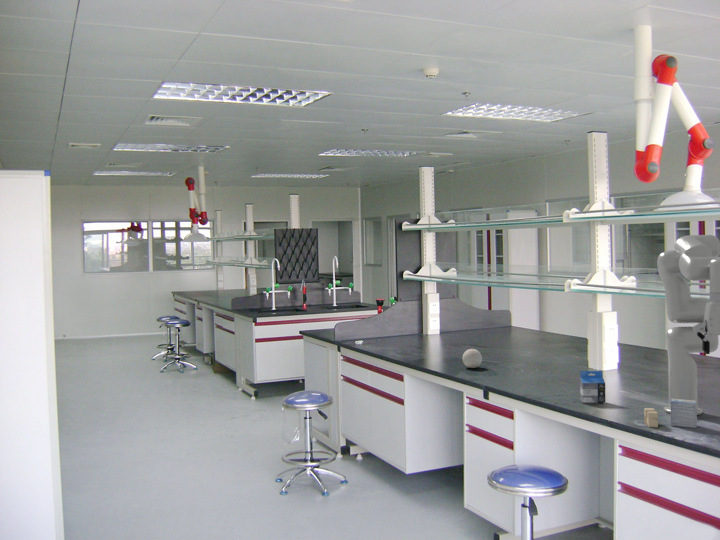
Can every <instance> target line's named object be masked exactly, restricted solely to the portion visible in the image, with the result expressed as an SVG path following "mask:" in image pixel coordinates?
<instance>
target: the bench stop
mask: <svg viewBox="0 0 720 540" xmlns="http://www.w3.org/2000/svg"><path fill="white" fill-rule="evenodd" d="M643 412H644V413H643V415H644V417H643V419H644V422H643V423H644V424H645V425H646V426H647V427H648V428H658V427H659V416H658V415H659V414H658V411H656V409H655V408H651V407H650V408H649V407H646V408H645V407H644V408H643Z"/></svg>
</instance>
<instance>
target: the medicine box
mask: <svg viewBox="0 0 720 540" xmlns="http://www.w3.org/2000/svg"><path fill="white" fill-rule="evenodd" d="M697 407H698V401H697V402H696V401H694V400H683V399H671V401H670V410H671V413H670V426H671V427H673V426H674V427H679V428H680V427H681V428H688V429H689V428H691V429H697V425H698V415H697Z"/></svg>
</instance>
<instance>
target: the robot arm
mask: <svg viewBox="0 0 720 540" xmlns="http://www.w3.org/2000/svg"><path fill="white" fill-rule="evenodd" d="M673 245H674V246H673V248H674V249H673V250H666V251H663V252H661V253H660V254H659V255H658V257H657V259H656V260H657V261H656V264H657V265H656V266H657V271H658V275H659V277H660V280H661V283H662V285H663V287H664V295H665V306H666V314H667V317H668V320H669V322H670V323H673V324H674V323H675V324H696V325H693V326H675V327H671V328H668V329H667V330H666V332H665V335H664V339H665V340H664V341H665V345H666V351H667V352H666V353H667V362H668V363H667V365H668V367H667V368H668V369H667V370H668V379H667V380H668V405H665V406H663V407H664V408H663V410H664V412H666V413H668V414H671V410H670V401H671V399H683V400H694V401H696V402H697V403H698V366H697V363H696V361H695V360H694V359H693V358H692V356H691V355H690V354H693V353H695V354H696V353H699V354H700V353H702V354H703V353H704V354H705V355H709V354H711V353H713V352H716V351H717V350H718V347H719V336H720V239H719V238H718V237H717V236H715V235H713V234H694V235H691V234H690V235H683V236H681V237H679V238H678V239H677V240H676V241H675V242H674V244H673ZM680 274H681V275H680ZM687 280H689V281H694V282H695V281H696V282H698V281H699V282H701V281H709V298H707V297H692V296H691V289H690V288H691V287H690V284H689V283H688V281H687ZM702 414H703V409H702V408H700V407H698V406H697V416H700V415H702Z"/></svg>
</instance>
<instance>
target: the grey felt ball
mask: <svg viewBox="0 0 720 540" xmlns="http://www.w3.org/2000/svg"><path fill="white" fill-rule="evenodd" d="M482 361H483V355H482V354H481V352H480V351H479V350H478V349H474V348H469V349H467V350H466V351H464V352H463V354H462V363H463V365H464V366H466V367H467V368H469V369H476V368H478V367H479V366H481V364H482Z"/></svg>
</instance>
